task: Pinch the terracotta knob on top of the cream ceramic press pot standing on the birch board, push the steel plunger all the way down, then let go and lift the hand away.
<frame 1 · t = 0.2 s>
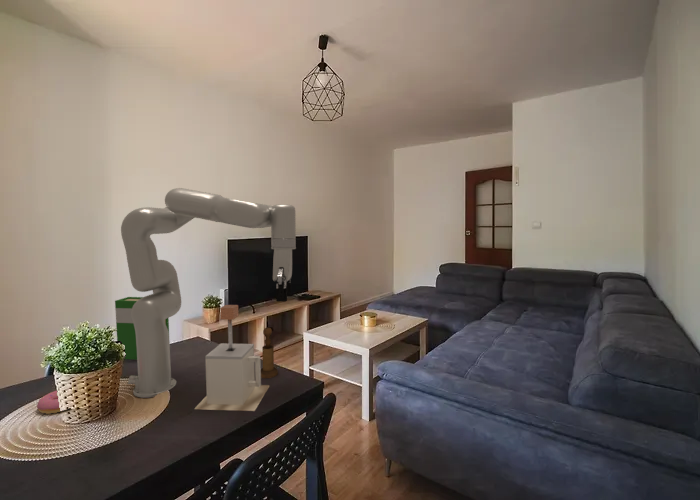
hand: (283, 297, 113), 31 cm above the table, tool pointing down, fingers open, 9 cm apart
hardback book: (144, 356, 147), on the table
press pot: (232, 395, 111), resting on birch board
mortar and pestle: (268, 377, 127), on the table
doughnut: (61, 407, 107), on the table
birch board: (234, 399, 111), on the table
plunger: (230, 336, 110), point 20 cm above the table, slide at 0.0 cm
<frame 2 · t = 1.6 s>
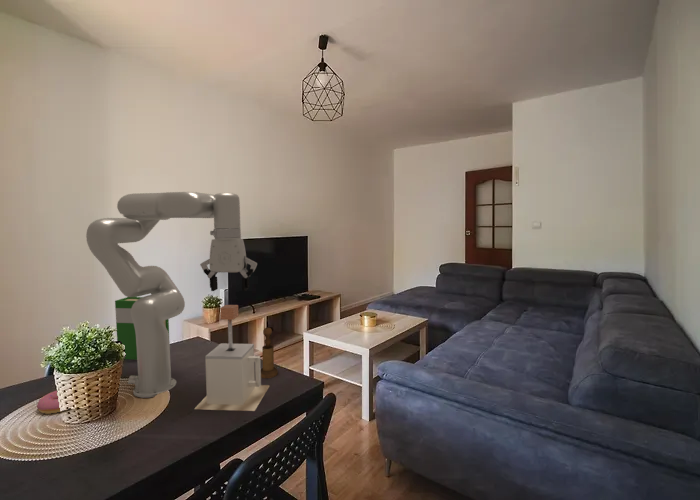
hand: (229, 290, 109), 35 cm above the table, tool pointing down, fingers open, 9 cm apart
nothing on the table moved.
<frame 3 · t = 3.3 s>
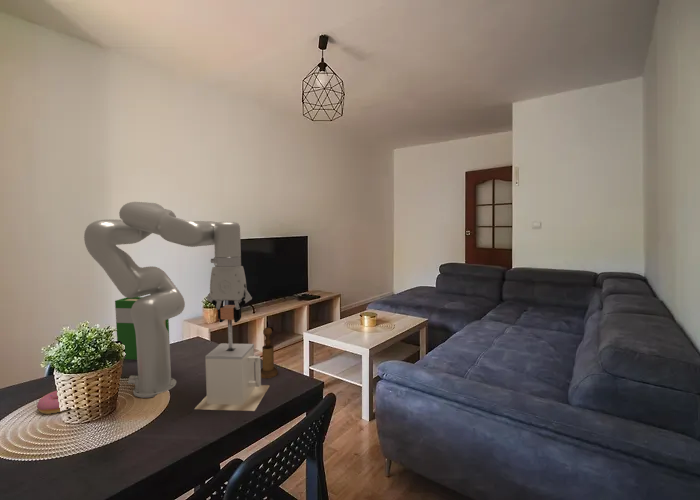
hand: (229, 320, 110), 25 cm above the table, tool pointing down, fingers closed on plunger, 4 cm apart
plunger: (230, 336, 110), point 20 cm above the table, slide at 0.0 cm, touching gripper
everything else where it was.
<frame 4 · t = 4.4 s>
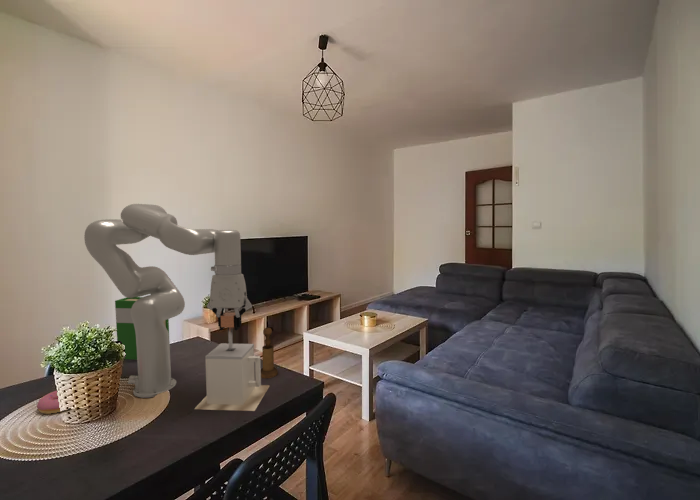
hand: (230, 328, 110), 23 cm above the table, tool pointing down, fingers closed on plunger, 4 cm apart
plunger: (230, 343, 110), point 18 cm above the table, slide at 2.5 cm, touching gripper
everything else where it was.
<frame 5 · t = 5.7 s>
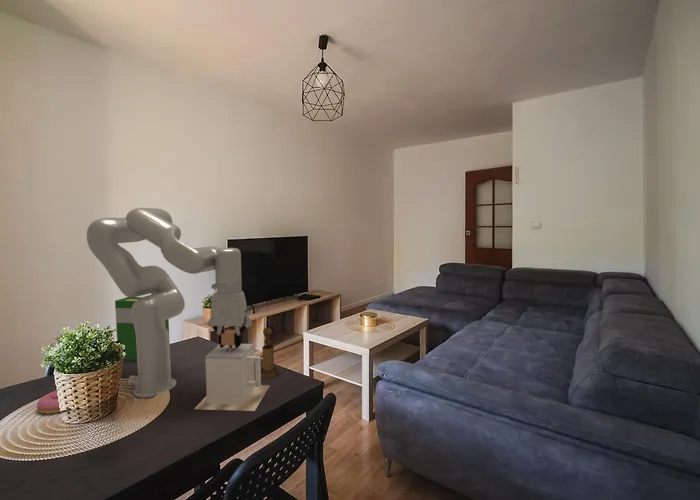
hand: (230, 345, 110), 17 cm above the table, tool pointing down, fingers closed on plunger, 4 cm apart
plunger: (231, 361, 111), point 12 cm above the table, slide at 8.0 cm, touching gripper
everything else where it was.
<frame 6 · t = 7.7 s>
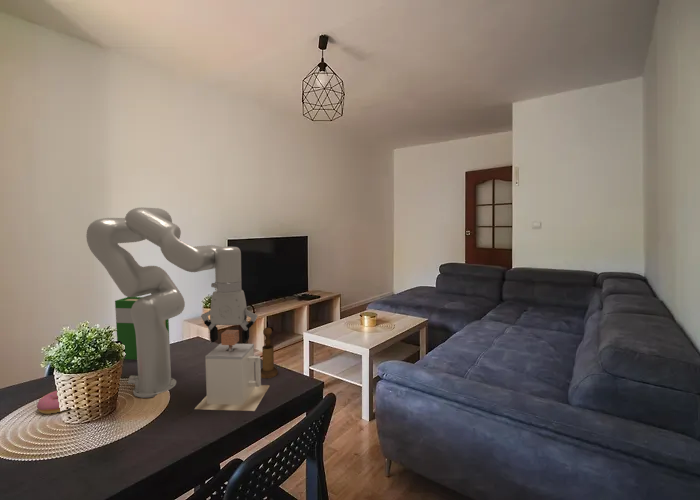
hand: (229, 341, 110), 18 cm above the table, tool pointing down, fingers open, 9 cm apart
plunger: (231, 361, 111), point 12 cm above the table, slide at 8.0 cm
everything else where it was.
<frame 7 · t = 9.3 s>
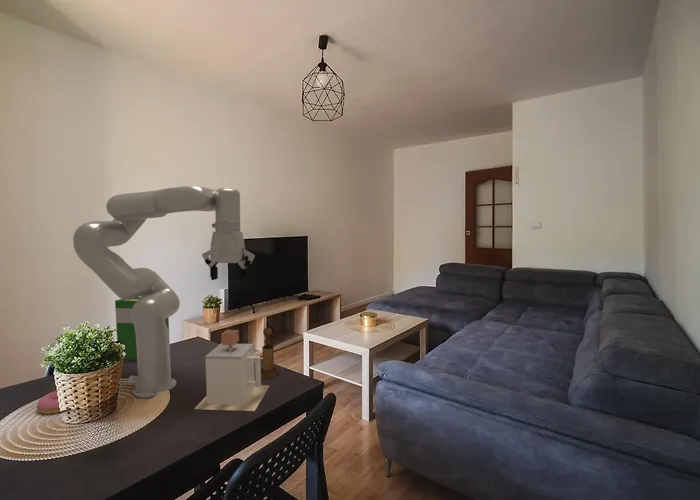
hand: (228, 279, 115), 37 cm above the table, tool pointing down, fingers open, 9 cm apart
nothing on the table moved.
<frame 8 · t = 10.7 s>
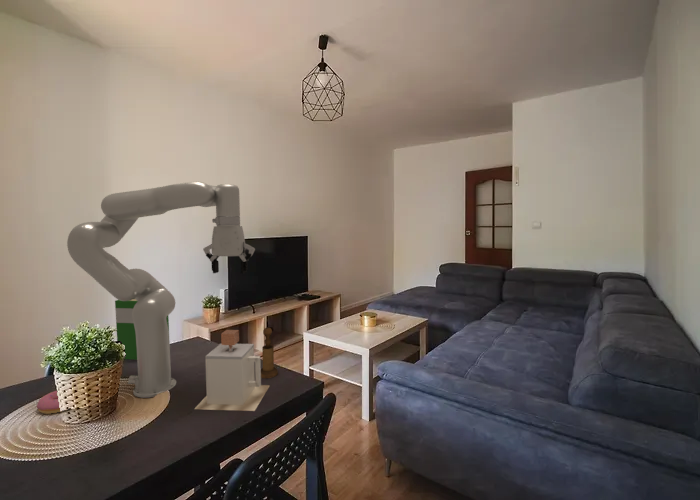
hand: (229, 272, 120), 38 cm above the table, tool pointing down, fingers open, 9 cm apart
nothing on the table moved.
at the end: plunger slide at 8.0 cm; the gripper is holding nothing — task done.
